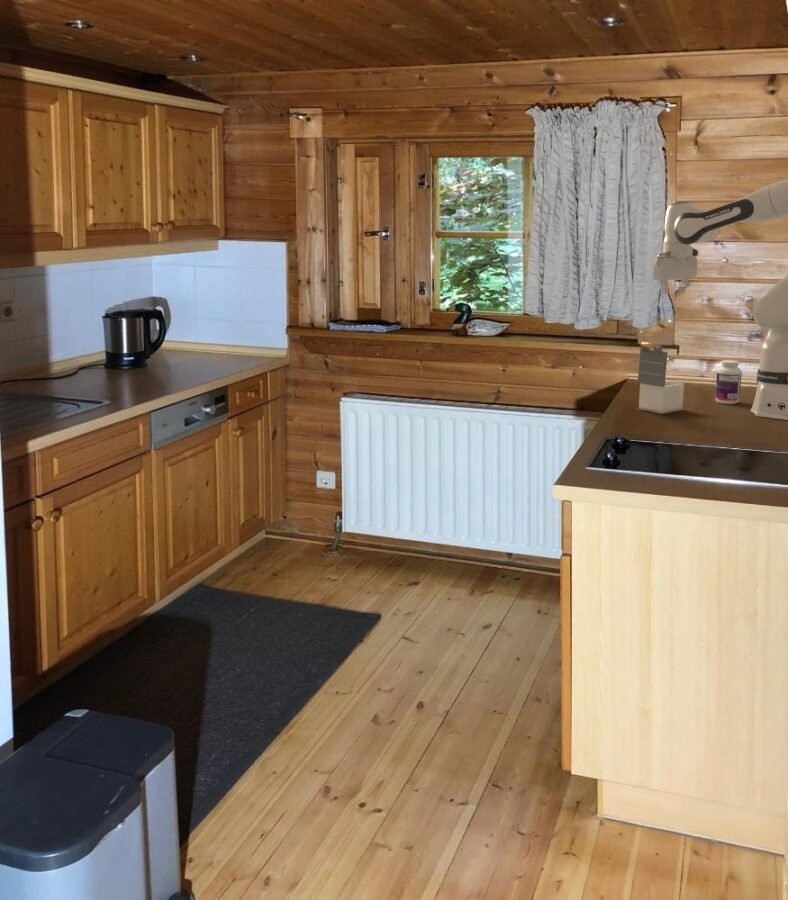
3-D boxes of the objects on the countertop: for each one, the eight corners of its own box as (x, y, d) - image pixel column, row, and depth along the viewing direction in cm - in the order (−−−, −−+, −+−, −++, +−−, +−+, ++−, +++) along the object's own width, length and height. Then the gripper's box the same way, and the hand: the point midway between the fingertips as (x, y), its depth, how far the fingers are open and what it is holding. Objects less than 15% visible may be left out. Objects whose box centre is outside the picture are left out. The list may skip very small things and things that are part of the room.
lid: (664, 386, 342) (657, 387, 340) (639, 382, 350) (632, 383, 348) (668, 344, 340) (661, 344, 337) (642, 340, 347) (635, 341, 345)
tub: (682, 409, 352) (684, 383, 350) (662, 413, 345) (663, 387, 343) (658, 405, 359) (660, 379, 357) (638, 409, 352) (640, 383, 350)
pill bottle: (722, 399, 369) (725, 358, 366) (743, 402, 364) (746, 361, 361) (710, 402, 364) (713, 361, 361) (731, 405, 358) (735, 363, 355)
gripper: (665, 252, 348) (662, 295, 351) (701, 251, 360) (699, 291, 364) (649, 252, 352) (647, 293, 356) (686, 250, 365) (683, 290, 368)
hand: (673, 292), depth 360 cm, fingers open, 8 cm apart
